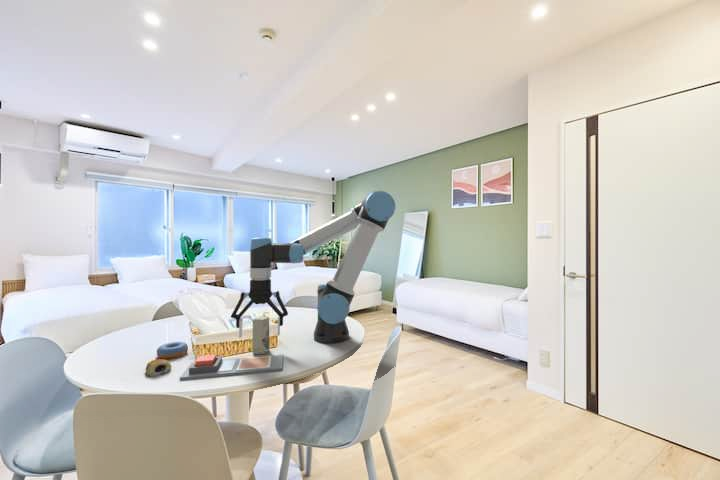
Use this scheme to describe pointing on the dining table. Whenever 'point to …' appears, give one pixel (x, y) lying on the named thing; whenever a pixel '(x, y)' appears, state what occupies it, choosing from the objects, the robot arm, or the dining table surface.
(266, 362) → the picture board
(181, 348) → the doughnut
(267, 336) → the box
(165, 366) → the pastry
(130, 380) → the dining table surface
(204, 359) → the button
